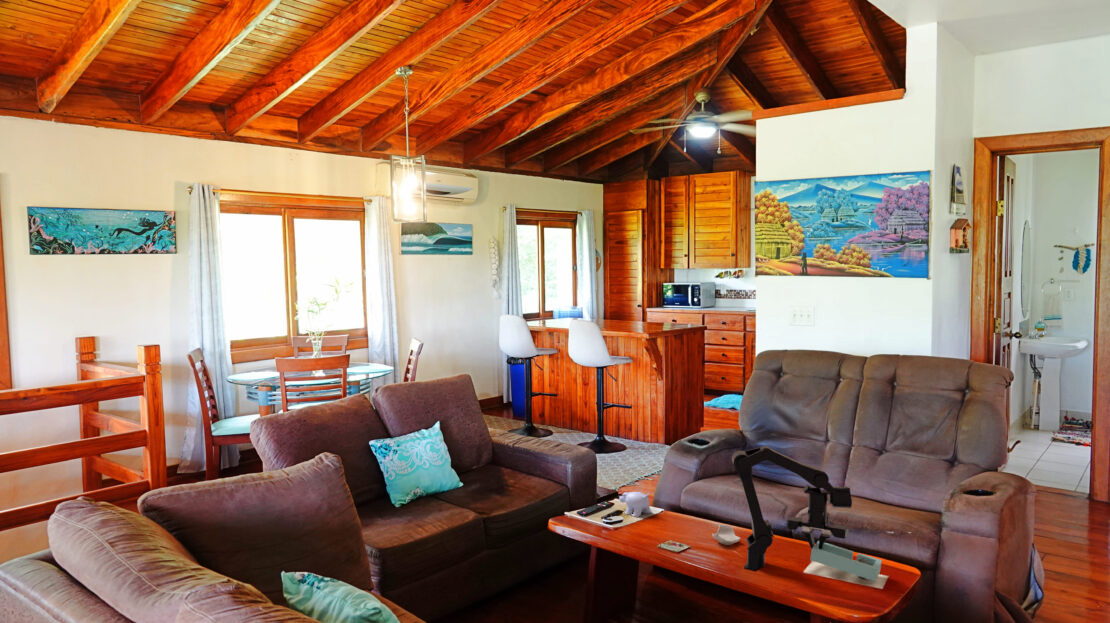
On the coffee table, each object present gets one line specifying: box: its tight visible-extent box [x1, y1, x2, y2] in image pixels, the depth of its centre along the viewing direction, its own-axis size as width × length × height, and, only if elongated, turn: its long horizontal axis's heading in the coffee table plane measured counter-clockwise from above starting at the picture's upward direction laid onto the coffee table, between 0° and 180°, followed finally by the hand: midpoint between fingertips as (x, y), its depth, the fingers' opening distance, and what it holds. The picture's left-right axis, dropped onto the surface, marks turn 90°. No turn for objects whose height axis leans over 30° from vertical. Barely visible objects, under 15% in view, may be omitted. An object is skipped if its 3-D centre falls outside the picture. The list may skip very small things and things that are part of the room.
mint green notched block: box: [809, 540, 883, 581], centre depth 240 cm, size 20×9×4 cm, turn 57°
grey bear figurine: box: [618, 491, 652, 518], centre depth 308 cm, size 11×15×10 cm
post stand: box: [803, 559, 889, 590], centre depth 240 cm, size 24×12×7 cm, turn 57°
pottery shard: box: [711, 523, 741, 546], centre depth 272 cm, size 10×11×5 cm
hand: (816, 552), depth 245 cm, fingers closed on mint green notched block, 2 cm apart
